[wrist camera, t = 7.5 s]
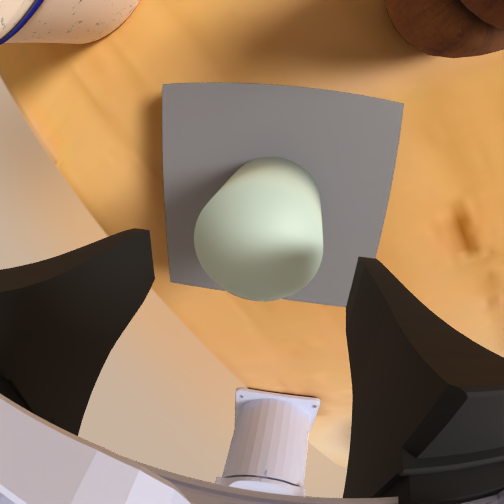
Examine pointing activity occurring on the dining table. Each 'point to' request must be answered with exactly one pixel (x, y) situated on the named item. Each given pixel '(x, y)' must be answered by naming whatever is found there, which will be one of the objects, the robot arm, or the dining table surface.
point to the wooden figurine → (450, 25)
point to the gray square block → (285, 146)
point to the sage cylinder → (262, 231)
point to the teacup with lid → (61, 20)
